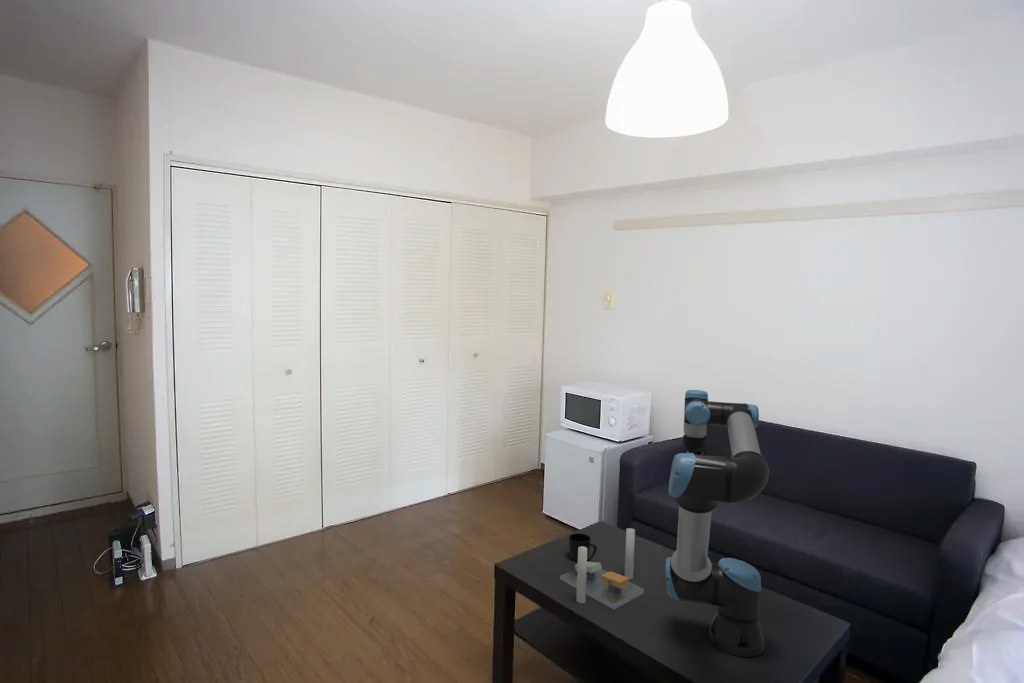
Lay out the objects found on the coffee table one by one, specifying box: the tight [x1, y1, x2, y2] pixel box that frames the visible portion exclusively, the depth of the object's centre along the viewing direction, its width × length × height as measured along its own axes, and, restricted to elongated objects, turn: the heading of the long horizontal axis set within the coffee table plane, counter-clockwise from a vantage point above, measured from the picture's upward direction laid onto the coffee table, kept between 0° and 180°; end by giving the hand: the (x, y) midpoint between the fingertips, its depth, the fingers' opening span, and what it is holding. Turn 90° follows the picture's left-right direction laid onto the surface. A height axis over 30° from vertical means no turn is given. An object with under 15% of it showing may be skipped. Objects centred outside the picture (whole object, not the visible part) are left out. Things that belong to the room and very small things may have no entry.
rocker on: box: [574, 561, 603, 573], centre depth 200 cm, size 8×6×2 cm
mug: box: [568, 533, 598, 563], centre depth 214 cm, size 8×12×10 cm
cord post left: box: [575, 546, 588, 604], centre depth 185 cm, size 3×3×18 cm
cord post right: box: [624, 527, 636, 580], centre depth 202 cm, size 3×3×18 cm
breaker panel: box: [559, 568, 645, 610], centre depth 195 cm, size 24×16×4 cm, turn 41°
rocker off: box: [601, 571, 630, 588], centre depth 191 cm, size 8×6×2 cm
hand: (691, 502), depth 195 cm, fingers closed
